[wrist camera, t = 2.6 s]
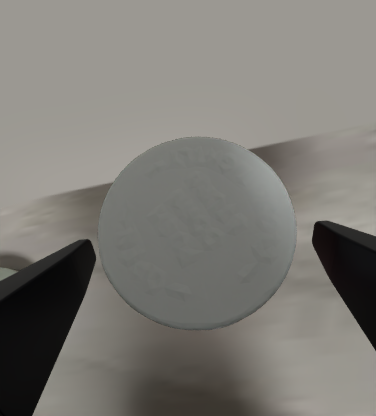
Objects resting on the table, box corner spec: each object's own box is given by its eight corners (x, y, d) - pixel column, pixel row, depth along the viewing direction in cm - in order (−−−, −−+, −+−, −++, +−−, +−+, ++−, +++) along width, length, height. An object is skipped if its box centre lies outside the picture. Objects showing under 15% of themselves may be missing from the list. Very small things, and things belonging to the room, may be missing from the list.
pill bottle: (229, 213, 17) (260, 94, 7) (261, 295, 15) (379, 304, 5) (153, 237, 17) (65, 153, 7) (174, 323, 15) (94, 399, 5)
